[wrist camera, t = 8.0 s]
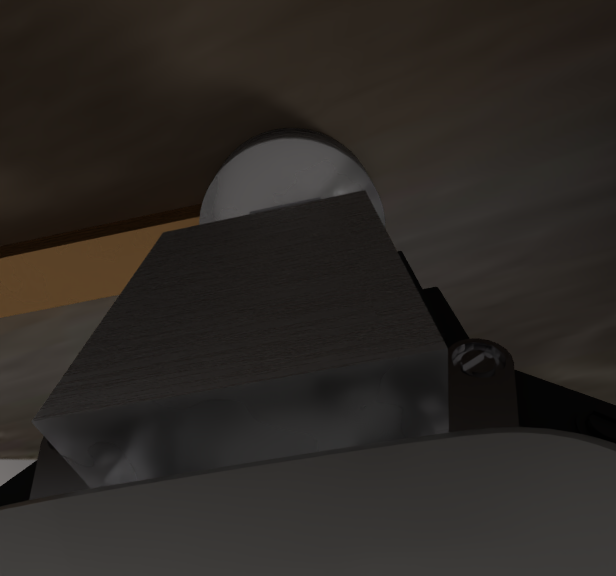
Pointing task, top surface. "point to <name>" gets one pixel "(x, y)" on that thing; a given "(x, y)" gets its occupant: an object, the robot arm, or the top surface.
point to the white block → (253, 349)
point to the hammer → (179, 220)
